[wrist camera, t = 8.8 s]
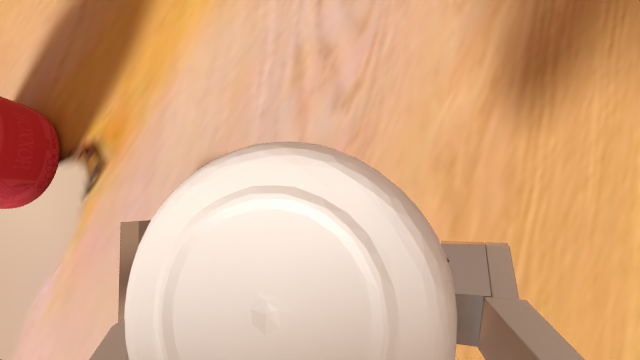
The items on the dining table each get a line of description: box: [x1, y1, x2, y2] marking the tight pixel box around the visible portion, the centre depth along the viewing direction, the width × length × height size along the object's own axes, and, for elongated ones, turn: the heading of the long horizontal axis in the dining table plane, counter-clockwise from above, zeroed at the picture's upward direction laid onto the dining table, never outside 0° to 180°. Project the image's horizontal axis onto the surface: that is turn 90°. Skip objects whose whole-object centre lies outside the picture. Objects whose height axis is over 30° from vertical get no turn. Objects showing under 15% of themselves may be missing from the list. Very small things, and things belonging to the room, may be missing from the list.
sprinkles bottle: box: [124, 142, 457, 360], centre depth 12 cm, size 5×5×14 cm
